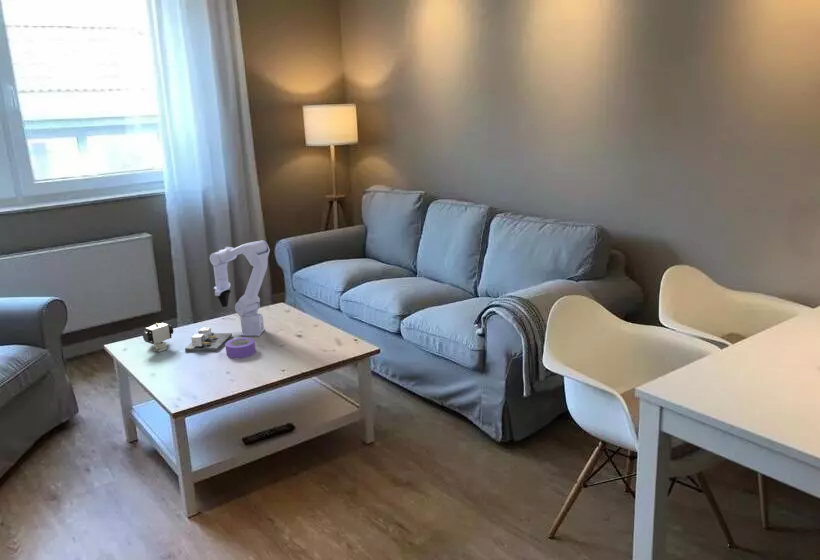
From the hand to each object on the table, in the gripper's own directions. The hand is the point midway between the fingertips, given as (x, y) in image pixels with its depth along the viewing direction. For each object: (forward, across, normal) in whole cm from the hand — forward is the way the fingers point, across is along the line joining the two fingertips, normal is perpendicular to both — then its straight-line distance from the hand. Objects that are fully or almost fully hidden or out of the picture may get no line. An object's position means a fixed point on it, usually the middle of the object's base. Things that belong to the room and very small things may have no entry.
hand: (224, 306), depth 316 cm
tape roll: (+10, +31, +17) cm, 37 cm away
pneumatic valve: (+11, +27, -20) cm, 35 cm away
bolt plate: (+10, +20, -1) cm, 23 cm away
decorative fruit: (+11, +20, -24) cm, 33 cm away
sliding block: (+8, +19, -1) cm, 21 cm away
